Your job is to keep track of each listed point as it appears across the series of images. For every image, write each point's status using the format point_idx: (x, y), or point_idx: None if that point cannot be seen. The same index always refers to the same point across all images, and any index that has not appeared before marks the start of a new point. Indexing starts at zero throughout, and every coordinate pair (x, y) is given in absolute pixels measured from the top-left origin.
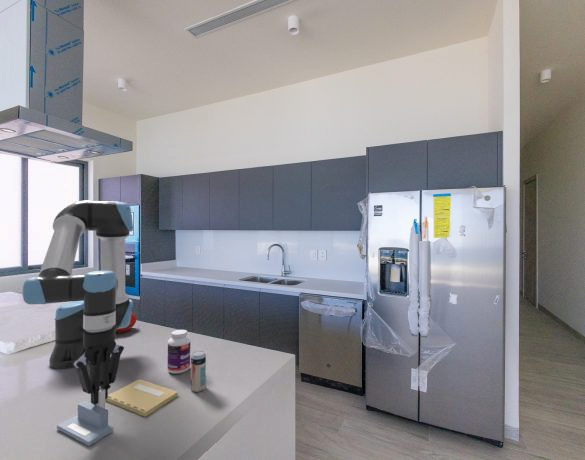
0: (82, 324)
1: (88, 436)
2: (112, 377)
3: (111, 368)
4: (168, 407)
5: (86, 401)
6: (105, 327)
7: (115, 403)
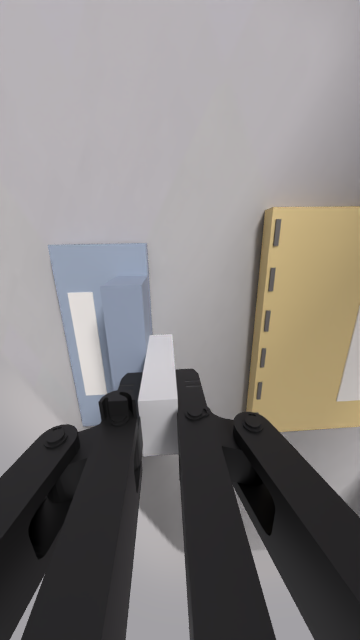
0: None
1: (93, 403)
2: (252, 510)
3: (314, 600)
4: (304, 438)
5: (138, 300)
6: None
7: (260, 285)
